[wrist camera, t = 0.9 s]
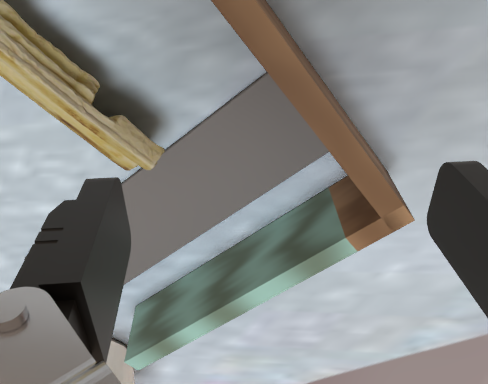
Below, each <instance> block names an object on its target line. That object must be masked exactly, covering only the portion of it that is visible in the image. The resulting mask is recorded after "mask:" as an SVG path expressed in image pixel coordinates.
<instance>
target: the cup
mask: <svg viewBox="0 0 488 384" xmlns="http://www.w3.org/2000/svg"><path fill="white" fill-rule="evenodd" d="M126 351H127V347H126V346H125V345H124V344H123V343H121V342H118V341H116V340H114V339H111V344H110V348H109V353H108V357H107V362H106V364H107V365H108V366H109V367H110V369H111V370H112V372H113V373H114V374H115V376H116V377H117V379H118V380H119V381H120V383H121V384H134V368H133V367H131V366H130V365H128V364H126V363H124V360H125V356H126Z"/></svg>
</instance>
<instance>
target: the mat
mask: <svg viewBox="0 0 488 384" xmlns="http://www.w3.org/2000/svg"><path fill="white" fill-rule="evenodd" d="M328 152H329V150H328V149H327V148H326V147H325V145H324V144H323V143H322V141H321V140H320V139H319V138H318V136H317V135H316V134H315V133H314V131H313V130H312V129H311V127H310V126H309V125H308V124H307V122H306V121H305V120H304V118H303V117H302V116H301V115H300V113H299V112H298V111H297V110H296V108H295V107H294V106H293V104H292V103H291V102H290V101H289V99H288V98H287V97H286V95H285V94H284V93H283V92H282V90H281V89H280V88H279V87H278V85H277V84H276V83H275V81H274V80H273V79H272V78H271V76H270V75H269V74H268V72H267V73H266V74H264V75H263V76H262V77H260V78H259V79H258V80H256V81H255V82H254V83H252V84H251V85H250V86H248V87H247V88H246V89H245V90H243V91H242V92H241V93H239V94H238V95H237V96H235V97H234V98H233V99H231V100H230V101H229V102H228V103H226V104H225V105H224V106H222V107H221V108H220V109H218V110H217V111H216V112H214V113H213V114H212V115H211V116H209V117H208V118H207V119H205V120H204V121H203V122H201V123H200V124H199V125H197V126H196V127H195V128H194V129H192V130H191V131H190V132H188V133H187V134H186V135H184V136H183V137H182V138H180V139H179V140H178V141H177V142H175V143H174V144H173V145H171V146H170V147H169V148H167V149H166V150H165V152H164V153H163V154H162V155H161V157H160V159H159V160H158V161H157V163H158V164H156V166H155V167H154V168H153V169H151V170H145V169H143V168H141V169H140V170H139V171H137V172H136V173H135V174H133V175H132V176H131V177H129V178H128V179H127V180H126V181H124V182H123V183H122V184H121V185H122V189H123V195H124V200H125V205H126V210H127V215H128V220H129V225H130V231H131V252H130V257H129V262H128V266H127V271H126V275H125V280H124V284H126V283H127V282H129V281H130V280H132V279H133V278H135V277H137V276H138V275H140V274H141V273H143V272H144V271H146V270H147V269H149V268H150V267H152V266H154V265H155V264H157V263H158V262H160V261H161V260H163V259H164V258H166V257H167V256H169V255H170V254H172V253H174V252H175V251H177V250H178V249H180V248H181V247H183V246H184V245H186V244H187V243H189V242H191V241H192V240H194V239H195V238H197V237H198V236H200V235H201V234H203V233H204V232H206V231H207V230H209V229H211V228H212V227H214V226H215V225H217V224H218V223H220V222H221V221H223V220H224V219H226V218H228V217H229V216H231V215H232V214H234V213H235V212H237V211H238V210H240V209H241V208H243V207H245V206H246V205H248V204H249V203H251V202H252V201H254V200H255V199H257V198H258V197H260V196H261V195H263V194H265V193H266V192H268V191H269V190H271V189H272V188H274V187H275V186H277V185H278V184H280V183H282V182H283V181H285V180H286V179H288V178H289V177H291V176H292V175H294V174H295V173H297V172H298V171H300V170H302V169H303V168H305V167H306V166H308V165H309V164H311V163H312V162H314V161H315V160H317V159H319V158H320V157H322V156H323V155H325V154H326V153H328ZM26 257H27V256H26ZM26 257H25V259H26ZM25 259H24V260H25ZM124 284H123V285H124Z"/></svg>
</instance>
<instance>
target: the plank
mask: <svg viewBox="0 0 488 384" xmlns="http://www.w3.org/2000/svg"><path fill="white" fill-rule="evenodd" d="M0 76H2V77H3V78H4V79H6V80H7V81H8V82H9V83H11V84H12V85H13V86H14V87H16V88H17V89H18V90H20V91H21V92H22V93H24V94H25V95H26V96H28V97H29V98H30V99H32V100H33V101H34V102H36V103H37V104H38V105H39V106H40V107H42V108H43V109H44V110H46V111H47V112H48V113H50V114H51V115H52V116H54V117H55V118H56V119H58V120H59V121H60V122H62V123H63V124H64V125H66V126H67V127H68V128H70V129H71V130H72V131H73V132H75V133H76V134H77V135H79V136H80V137H82V138H83V139H84V140H86V141H87V142H88V143H90V144H91V145H92V146H93V147H95V148H96V149H97V150H99V151H100V152H101V153H102V154H104V155H105V156H106V157H108V158H109V159H110V160H112V161H113V162H114V163H116V164H117V165H119V166H120V167H122V168H123V169H125V170H131V169H132V168H134V167H137V166H138V165H139V166H140V167H142V168H143V169H145V170H151V169H153V168H154V167H155V166H156V164H158V163H157V161H158V160H159V159H160V157H161V155H162V154H163V153H164V152H165V150H164V148H162V147H160V146H158V145H156V144H155V143H154V142H152V141H151V140H150V139H149V138H148V137H147V136H146V135H145V134H143V133H142V132H141V131H140V130H139V129H138V128H137V127H136V126H134V125H133V124H132V123H131V122H130V121H129V120H128V119H127V118H126V117H125V116H123V115H116V116H112V117H107V116H105V115H103V114H101V113H100V112H99V111H98V110H97V109H95V108H94V107H93V106H92V103H93V101H94V98H95V94H96V93H97V92H98V89H99V88H100V84H99V83H98V81H97V80H96V79H95V78H94V77H93V76H92V75H91V74H89V73H87V72H85V71H83V70H81V69H80V68H79V67H78V66H77V65H76V64H75V63H73V62H72V61H70V60H69V59H68V58H67V57H66V55H65V54H64V53H63V52H61V51H60V50H59V49H57V48H55V47H54V46H53V45H52V43H51V42H49V41H47V40H46V39H44V38H43V37H42V36H41V35H37V33H36V31H35V30H33V29H32V28H31V27H30V26H29V25H28V24H27V23H26V22H25V21H24V20H23V19H22V18H21V17H20V16H19V15H18V13H17V12H16V11H15V10H14V9H13V8H12V7H11V6H10V5H8V4H7V3H6V2H5V1H4V0H0Z"/></svg>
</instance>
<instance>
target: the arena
mask: <svg viewBox="0 0 488 384" xmlns="http://www.w3.org/2000/svg"><path fill="white" fill-rule="evenodd" d="M211 1H212V2H213V3H214V5H215V6H216V7H217V9H218V10H219V11H220V12H221V14H222V15H223V16H224V18H225V19H226V20H227V21H228V23H229V24H230V25H231V26H232V28H233V29H234V30H235V32H236V33H237V34H238V35H239V37H240V38H241V39H242V41H243V42H244V43H245V44H246V46H247V47H248V48H249V49H250V51H251V52H252V53H253V55H254V56H255V57H256V58H257V60H258V61H259V62H260V64H261V65H262V66H263V67H264V69H265V70H266V71H267V72H268V74H269V75H270V76H271V78H272V79H273V80H274V81H275V83H276V84H277V85H278V87H279V88H280V89H281V90H282V92H283V93H284V94H285V95H286V97H287V98H288V99H289V101H290V102H291V103H292V104H293V106H294V107H295V108H296V110H297V111H298V112H299V113H300V115H301V116H302V117H303V118H304V120H305V121H306V122H307V124H308V125H309V126H310V127H311V129H312V130H313V131H314V133H315V134H316V135H317V136H318V138H319V139H320V140H321V141H322V143H323V144H324V145H325V147H326V148H327V149H328V150H329V152H330V153H331V154H332V156H333V157H334V158H335V159H336V161H337V162H338V163H339V164H340V166H341V167H342V168H343V170H344V171H345V172H346V173H347V175H348V176H347V177H345V178H343V179H342V180H340V181H339V182H337V183H335V184H334V185H332V186H330V187H329V188H327V189H326V190H324V191H322V192H321V193H319V194H317V195H316V196H314V197H313V198H311V199H309V200H308V201H306V202H304V203H303V204H301V205H300V206H298V207H296V208H295V209H293V210H291V211H290V212H288V213H287V214H285V215H283V216H282V217H280V218H278V219H277V220H275V221H274V222H272V223H270V224H269V225H267V226H265V227H264V228H262V229H261V230H259V231H257V232H256V233H254V234H252V235H251V236H249V237H248V238H246V239H244V240H243V241H241V242H239V243H238V244H236V245H235V246H233V247H231V248H230V249H228V250H226V251H225V252H223V253H222V254H220V255H218V256H217V257H215V258H214V259H212V260H210V261H209V262H207V263H205V264H204V265H202V266H201V267H199V268H197V269H196V270H194V271H192V272H191V273H189V274H188V275H186V276H184V277H183V278H181V279H179V280H178V281H176V282H175V283H173V284H171V285H170V286H168V287H166V288H165V289H163V290H162V291H160V292H158V293H157V294H155V295H153V296H152V297H150V298H149V299H147V300H145V301H144V302H142V303H140V304H139V305H137V306H136V308H135V313H134V318H133V323H132V327H131V332H130V337H129V341H128V346H127V351H126V356H125V360H124V363H126V364H128V365H130V366H131V367H133V368H135V369H136V370H140V369H142V368H144V367H146V366H148V365H149V364H151V363H153V362H155V361H157V360H159V359H161V358H162V357H164V356H166V355H168V354H170V353H172V352H173V351H175V350H177V349H179V348H181V347H183V346H184V345H186V344H188V343H190V342H192V341H194V340H196V339H197V338H199V337H201V336H203V335H205V334H207V333H208V332H210V331H212V330H214V329H216V328H218V327H219V326H221V325H223V324H225V323H227V322H229V321H230V320H232V319H234V318H236V317H238V316H240V315H242V314H243V313H245V312H247V311H249V310H251V309H253V308H254V307H256V306H258V305H260V304H262V303H264V302H265V301H267V300H269V299H271V298H273V297H275V296H277V295H278V294H280V293H282V292H284V291H286V290H288V289H289V288H291V287H293V286H295V285H297V284H299V283H300V282H302V281H304V280H306V279H308V278H310V277H311V276H313V275H315V274H317V273H319V272H321V271H323V270H324V269H326V268H328V267H330V266H332V265H334V264H335V263H337V262H339V261H341V260H343V259H345V258H346V257H348V256H350V255H352V254H354V253H356V252H358V251H359V250H361V249H363V248H365V247H367V246H369V245H370V244H372V243H374V242H376V241H378V240H380V239H381V238H383V237H385V236H387V235H389V234H391V233H392V232H394V231H396V230H398V229H400V228H402V227H404V226H405V225H407V224H409V223H411V222H413V221H415V220H414V218H413V216H412V215H411V213H410V211H409V209H408V207H407V206H406V204H405V202H404V200H403V199H402V197H401V195H400V193H399V191H398V190H397V188H396V186H395V184H394V183H393V181H392V179H391V177H390V175H389V174H388V172H387V170H386V169H385V168H384V166H383V165H382V163H381V162H380V161H379V159H378V158H377V156H376V155H375V154H374V152H373V151H372V149H371V148H370V147H369V145H368V144H367V142H366V141H365V140H364V138H363V137H362V135H361V134H360V133H359V131H358V130H357V128H356V127H355V125H354V124H353V123H352V121H351V120H350V118H349V117H348V116H347V114H346V113H345V111H344V110H343V109H342V107H341V106H340V104H339V103H338V102H337V100H336V99H335V97H334V96H333V95H332V93H331V92H330V90H329V89H328V88H327V86H326V85H325V83H324V82H323V80H322V79H321V78H320V76H319V75H318V73H317V72H316V71H315V69H314V68H313V66H312V65H311V64H310V62H309V61H308V59H307V58H306V57H305V55H304V54H303V52H302V51H301V50H300V48H299V47H298V45H297V44H296V43H295V41H294V40H293V38H292V37H291V36H290V34H289V33H288V31H287V30H286V28H285V27H284V26H283V24H282V23H281V21H280V20H279V19H278V17H277V16H276V14H275V13H274V12H273V10H272V9H271V7H270V6H269V5H268V3H267V2H266V0H211Z"/></svg>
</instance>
